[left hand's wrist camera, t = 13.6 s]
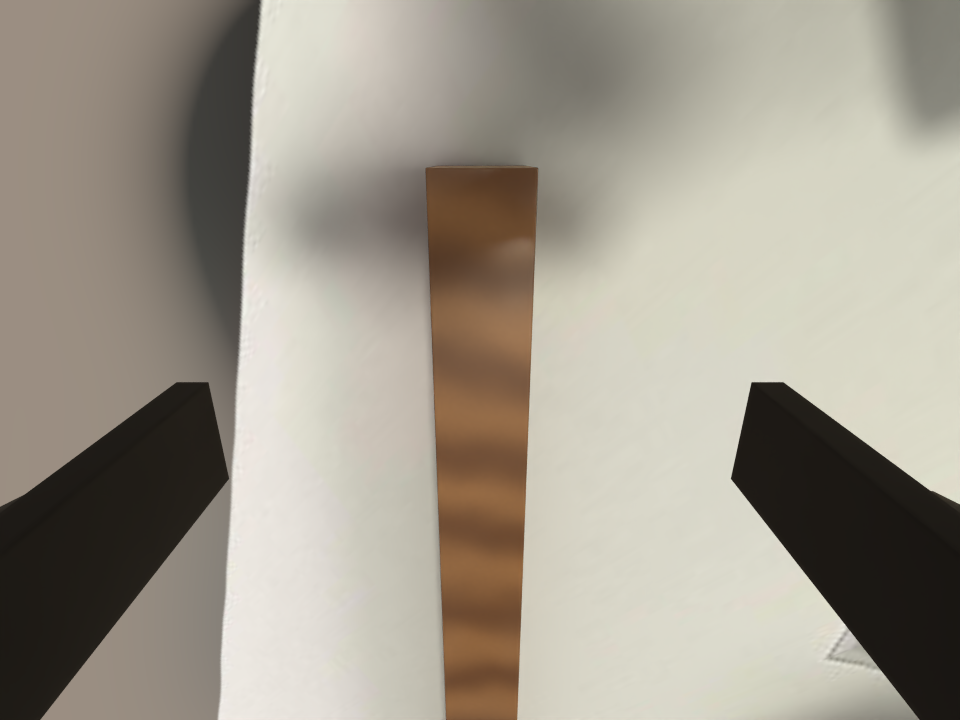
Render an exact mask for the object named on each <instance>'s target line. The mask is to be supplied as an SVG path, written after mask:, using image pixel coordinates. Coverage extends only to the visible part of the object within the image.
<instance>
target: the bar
mask: <svg viewBox="0 0 960 720" xmlns="http://www.w3.org/2000/svg"><path fill="white" fill-rule="evenodd" d="M537 186H538V168H536V167H529V166H435V167H429V168H426V192H427V219H428V245H429V272H430V299H431V325H432V352H433V378H434V405H435V432H436V458H437V485H438V512H439V538H440V565H441V592H442V618H443V645H444V672H445V698H446V720H517V708H518V682H519V656H520V630H521V604H522V578H523V551H524V525H525V499H526V473H527V447H528V421H529V395H530V369H531V342H532V316H533V290H534V264H535V238H536V212H537Z"/></svg>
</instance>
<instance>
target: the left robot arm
mask: <svg viewBox="0 0 960 720" xmlns="http://www.w3.org/2000/svg"><path fill="white" fill-rule="evenodd" d="M228 479H229V476H228V472H227V467H226V463H225V458H224V453H223V449H222V444H221V439H220V434H219V430H218V425H217V420H216V416H215V411H214V407H213V402H212V397H211V393H210V388H209V383H208V382H177V383H175V384H174V385H173V386H171V387H170V388H168V389H167V390H166V391H164V392H163V393H162V394H160V395H159V396H158V397H156V398H155V399H153V400H152V401H151V402H149V403H148V404H147V405H145V406H144V407H143V408H141V409H140V410H139V411H137V412H136V413H135V414H133V415H132V416H130V417H129V418H128V419H126V420H125V421H124V422H122V423H121V424H120V425H118V426H117V427H116V428H114V429H113V430H112V431H110V432H109V433H108V434H106V435H105V436H103V437H102V438H101V439H99V440H98V441H97V442H95V443H94V444H93V445H91V446H90V447H89V448H87V449H86V450H84V451H83V452H82V453H80V454H79V455H78V456H76V457H75V458H74V459H72V460H71V461H70V462H68V463H67V464H65V465H64V466H63V467H61V468H60V469H59V470H57V471H56V472H55V473H53V474H52V475H51V476H49V477H48V478H47V479H45V480H44V481H42V482H41V483H40V484H38V485H37V486H36V487H34V488H33V489H32V490H30V491H29V492H28V493H26V494H25V495H23V496H21V497H19V498H17V499H15V500H13V501H11V502H9V503H7V504H5V505H3V506H1V507H0V720H40V719H41V718H42V717H43V716H44V714H45V713H46V712H47V710H48V709H49V708H50V707H51V705H52V704H53V703H54V701H55V700H56V699H57V698H58V696H59V695H60V694H61V693H62V691H63V690H64V689H65V687H66V686H67V685H68V684H69V682H70V681H71V680H72V679H73V677H74V676H75V675H76V673H77V672H78V671H79V669H80V668H81V667H82V666H83V664H84V663H85V662H86V661H87V659H88V658H89V657H90V656H91V654H92V653H93V652H94V650H95V649H96V648H97V647H98V645H99V644H100V643H101V642H102V640H103V639H104V638H105V636H106V635H107V634H108V633H109V631H110V630H111V629H112V627H113V626H114V625H115V624H116V622H117V621H118V620H119V619H120V617H121V616H122V615H123V613H124V612H125V611H126V610H127V608H128V607H129V606H130V604H131V603H132V602H133V601H134V599H135V598H136V597H137V596H138V594H139V593H140V592H141V590H142V589H143V588H144V587H145V585H146V584H147V583H148V582H149V580H150V579H151V578H152V576H153V575H154V574H155V573H156V571H157V570H158V569H159V567H160V566H161V565H162V564H163V562H164V561H165V560H166V559H167V557H168V556H169V555H170V553H171V552H172V551H173V550H174V548H175V547H176V546H177V544H178V543H179V542H180V541H181V539H182V538H183V537H184V535H185V534H186V533H187V532H188V530H189V529H190V528H191V527H192V525H193V524H194V523H195V521H196V520H197V519H198V518H199V516H200V515H201V514H202V513H203V511H204V510H205V509H206V507H207V506H208V505H209V504H210V502H211V501H212V500H213V498H214V497H215V496H216V495H217V493H218V492H219V491H220V490H221V488H222V487H223V486H224V484H225V483H226V482H227V481H228ZM731 479H732V481H733V482H734V483H735V484H736V486H737V487H738V488H739V490H740V491H741V492H742V493H743V495H744V496H745V497H746V499H747V500H748V501H749V502H750V504H751V505H752V506H753V507H754V509H755V510H756V511H757V513H758V514H759V515H760V516H761V518H762V519H763V520H764V522H765V523H766V524H767V525H768V527H769V528H770V529H771V530H772V532H773V533H774V534H775V536H776V537H777V538H778V539H779V541H780V542H781V543H782V544H783V546H784V547H785V548H786V550H787V551H788V552H789V553H790V555H791V556H792V557H793V559H794V560H795V561H796V562H797V564H798V565H799V566H800V567H801V569H802V570H803V571H804V573H805V574H806V575H807V576H808V578H809V579H810V580H811V582H812V583H813V584H814V585H815V587H816V588H817V589H818V590H819V592H820V593H821V594H822V596H823V597H824V598H825V599H826V601H827V602H828V603H829V604H830V606H831V607H832V608H833V610H834V611H835V612H836V613H837V615H838V616H839V617H840V619H841V620H842V621H843V622H844V624H845V625H846V626H847V627H848V629H849V630H850V631H851V633H852V634H853V635H854V636H855V638H856V639H857V640H858V642H859V643H860V644H861V645H862V647H863V648H864V649H865V650H866V652H867V653H868V654H869V656H870V657H871V658H872V659H873V661H874V662H875V663H876V664H877V666H878V667H879V668H880V670H881V671H882V672H883V673H884V675H885V676H886V677H887V679H888V680H889V681H890V682H891V684H892V685H893V686H894V687H895V689H896V690H897V691H898V693H899V694H900V695H901V696H902V698H903V699H904V700H905V702H906V703H907V704H908V705H909V707H910V708H911V709H912V710H913V712H914V713H915V714H916V716H917V717H918V718H919V719H920V720H960V504H958V503H956V502H954V501H952V500H950V499H948V498H946V497H944V496H942V495H940V494H938V493H936V492H934V491H930V490H928V489H927V488H926V487H924V486H923V485H922V484H920V483H919V482H918V481H916V480H915V479H913V478H912V477H911V476H909V475H908V474H907V473H905V472H904V471H903V470H901V469H900V468H899V467H897V466H896V465H895V464H893V463H892V462H890V461H889V460H888V459H886V458H885V457H884V456H882V455H881V454H880V453H878V452H877V451H876V450H874V449H873V448H872V447H870V446H869V445H867V444H866V443H865V442H863V441H862V440H861V439H859V438H858V437H857V436H855V435H854V434H853V433H851V432H850V431H849V430H847V429H846V428H844V427H843V426H842V425H840V424H839V423H838V422H836V421H835V420H834V419H832V418H831V417H830V416H828V415H827V414H825V413H824V412H823V411H821V410H820V409H819V408H817V407H816V406H815V405H813V404H812V403H811V402H809V401H808V400H807V399H805V398H804V397H802V396H801V395H800V394H798V393H797V392H796V391H794V390H793V389H792V388H790V387H789V386H788V385H786V384H785V383H784V382H752V383H751V388H750V393H749V397H748V402H747V406H746V411H745V416H744V420H743V425H742V430H741V434H740V439H739V444H738V448H737V453H736V458H735V462H734V467H733V472H732V476H731Z"/></svg>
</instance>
